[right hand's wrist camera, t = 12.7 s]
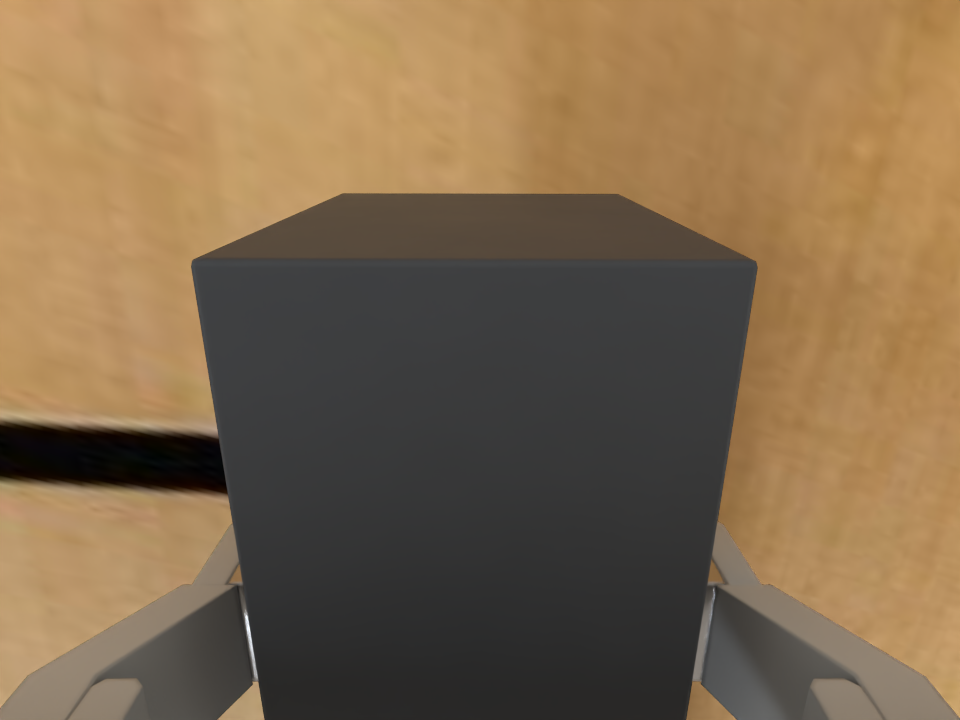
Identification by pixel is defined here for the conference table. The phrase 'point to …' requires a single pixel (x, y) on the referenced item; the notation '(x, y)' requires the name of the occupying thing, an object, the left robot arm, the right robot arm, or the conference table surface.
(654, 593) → the post
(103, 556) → the conference table surface
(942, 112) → the conference table surface
